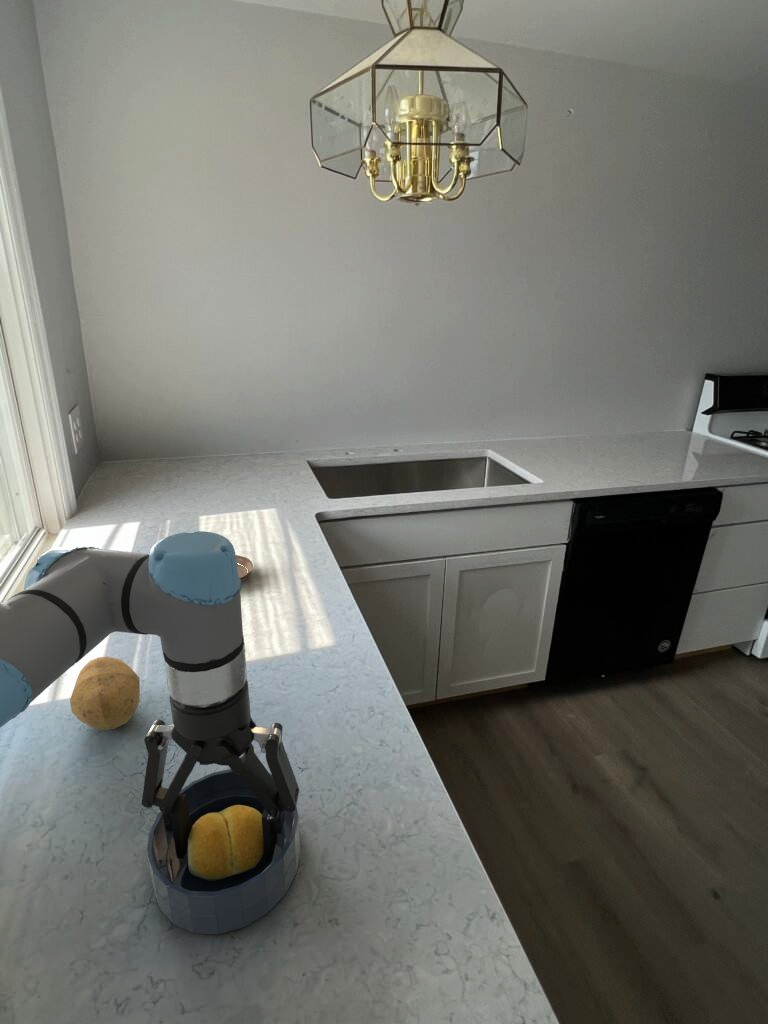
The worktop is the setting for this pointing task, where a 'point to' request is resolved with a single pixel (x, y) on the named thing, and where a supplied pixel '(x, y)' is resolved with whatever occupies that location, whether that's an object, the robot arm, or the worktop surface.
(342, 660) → the worktop surface
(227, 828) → the bread roll
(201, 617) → the robot arm
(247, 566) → the saucer
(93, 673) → the potato
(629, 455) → the worktop surface
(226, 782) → the blue grey bowl
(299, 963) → the worktop surface
